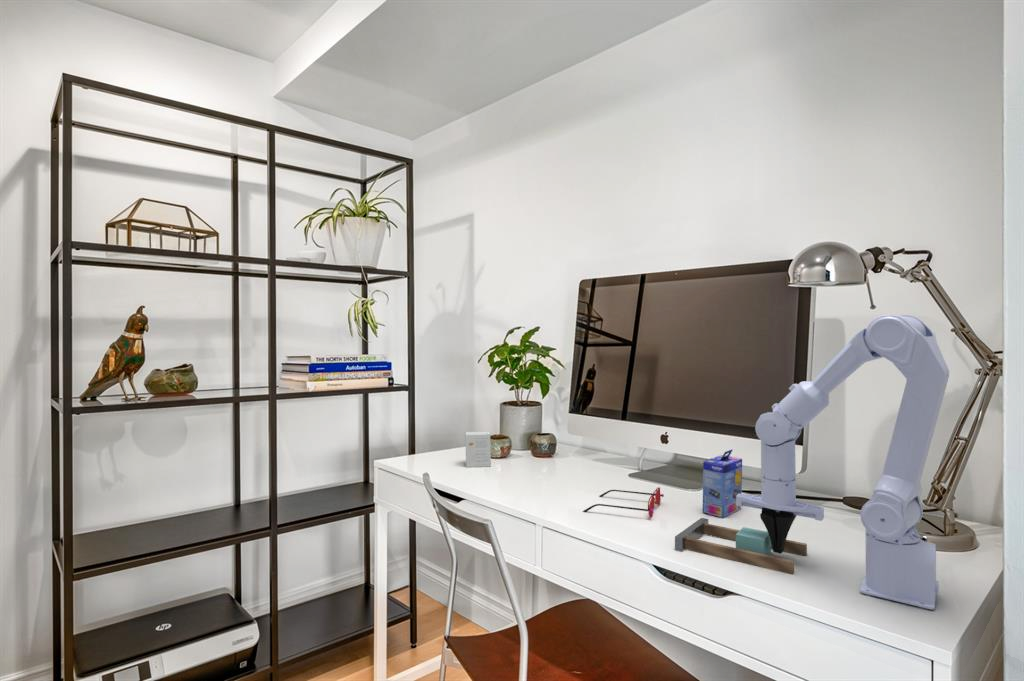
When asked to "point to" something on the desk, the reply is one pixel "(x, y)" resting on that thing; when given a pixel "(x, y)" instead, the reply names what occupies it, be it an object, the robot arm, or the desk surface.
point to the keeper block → (753, 540)
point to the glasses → (650, 508)
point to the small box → (478, 449)
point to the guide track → (741, 554)
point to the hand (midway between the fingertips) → (778, 551)
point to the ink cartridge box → (721, 484)
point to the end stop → (690, 533)
